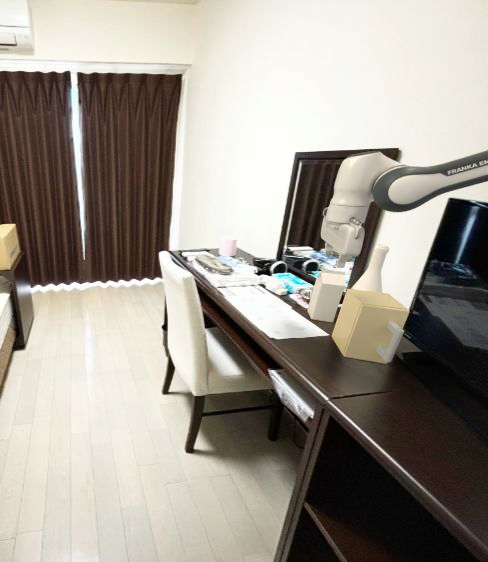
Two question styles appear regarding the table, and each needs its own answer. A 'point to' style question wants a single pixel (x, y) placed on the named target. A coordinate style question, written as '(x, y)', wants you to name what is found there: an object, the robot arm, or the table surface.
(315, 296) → the milk carton
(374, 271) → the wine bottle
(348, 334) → the fridge
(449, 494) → the table surface
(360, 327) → the fridge door
